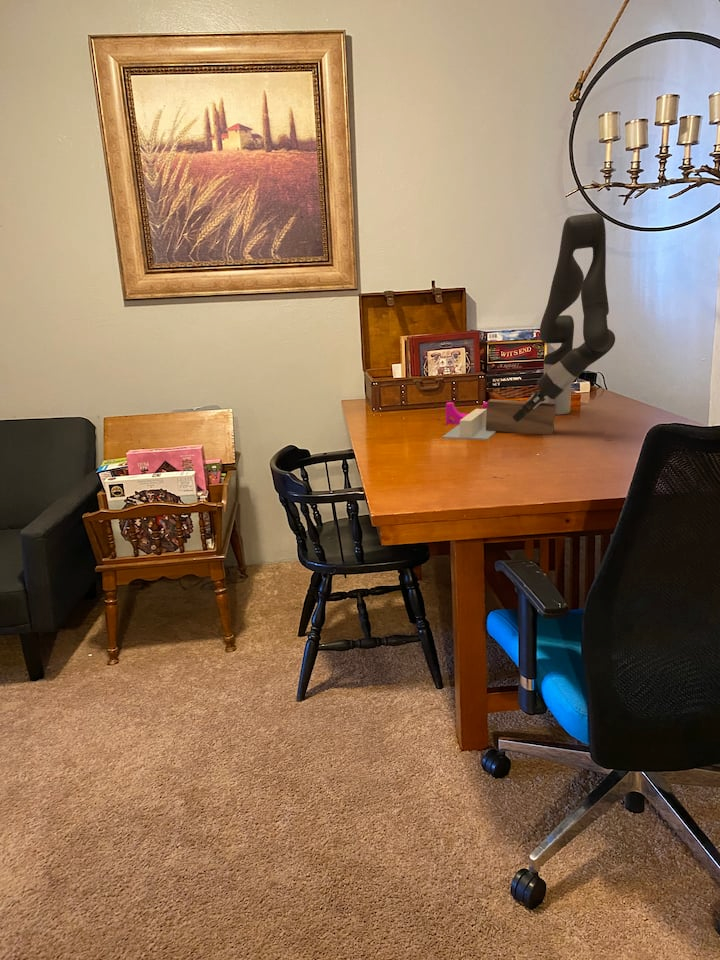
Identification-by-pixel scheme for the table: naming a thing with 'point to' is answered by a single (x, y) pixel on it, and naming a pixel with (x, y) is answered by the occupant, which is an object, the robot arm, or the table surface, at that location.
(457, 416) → the magenta curved piece
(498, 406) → the beam
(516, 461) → the table surface
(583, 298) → the robot arm
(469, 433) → the fulcrum
